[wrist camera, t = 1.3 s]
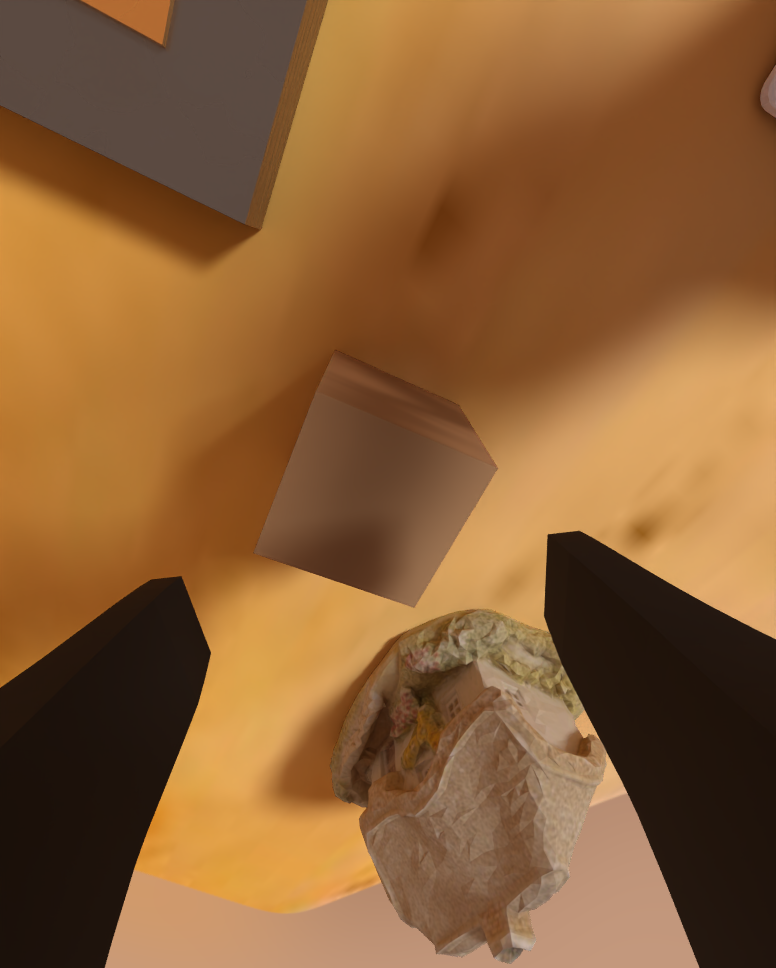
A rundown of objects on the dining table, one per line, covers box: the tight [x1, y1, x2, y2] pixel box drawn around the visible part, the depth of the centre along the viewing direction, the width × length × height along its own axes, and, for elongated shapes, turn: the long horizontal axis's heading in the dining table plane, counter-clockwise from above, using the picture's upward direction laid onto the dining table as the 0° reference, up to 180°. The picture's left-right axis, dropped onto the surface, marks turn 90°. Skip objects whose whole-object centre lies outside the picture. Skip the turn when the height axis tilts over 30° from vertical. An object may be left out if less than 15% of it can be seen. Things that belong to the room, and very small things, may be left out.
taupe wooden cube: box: [254, 350, 498, 607], centre depth 15 cm, size 5×5×6 cm
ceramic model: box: [330, 609, 606, 964], centre depth 20 cm, size 14×11×10 cm
